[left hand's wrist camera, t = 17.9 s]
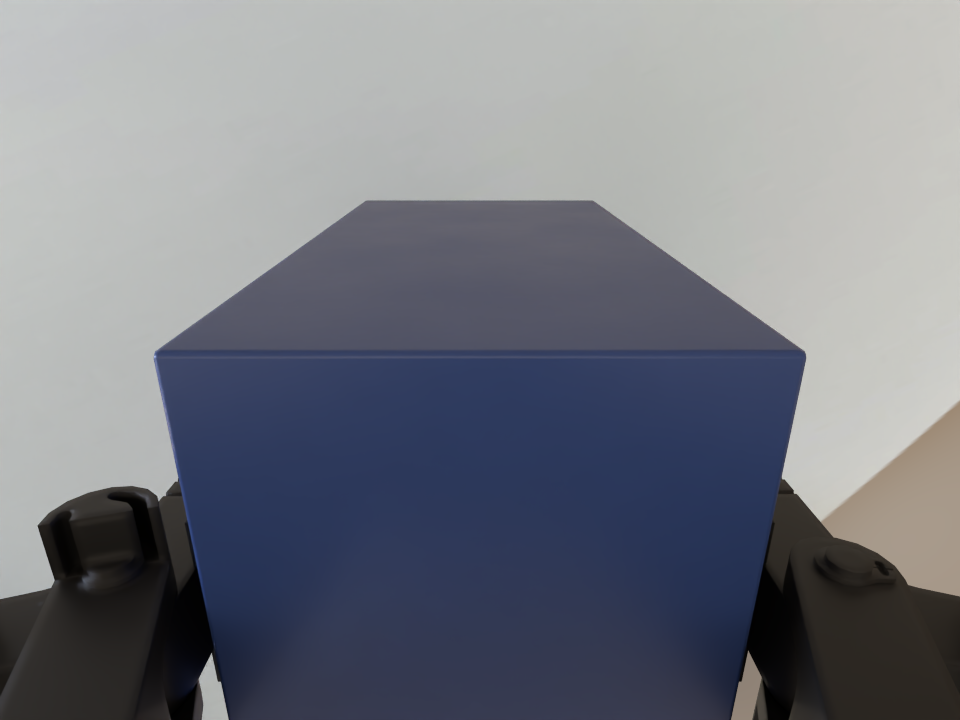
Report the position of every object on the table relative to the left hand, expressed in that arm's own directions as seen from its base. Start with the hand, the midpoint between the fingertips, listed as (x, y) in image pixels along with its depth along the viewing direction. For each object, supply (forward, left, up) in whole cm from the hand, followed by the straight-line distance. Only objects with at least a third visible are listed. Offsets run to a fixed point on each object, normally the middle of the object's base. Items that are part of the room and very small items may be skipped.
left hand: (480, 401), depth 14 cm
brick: (0, 0, -3) cm, 3 cm away
